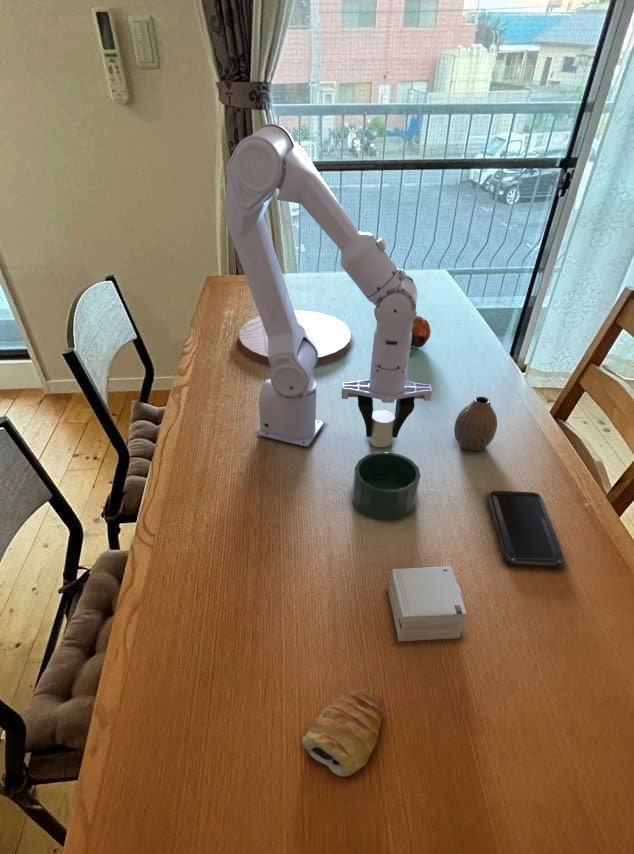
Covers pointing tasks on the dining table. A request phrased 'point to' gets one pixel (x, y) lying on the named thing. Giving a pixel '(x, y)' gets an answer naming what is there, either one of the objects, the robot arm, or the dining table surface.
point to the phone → (524, 530)
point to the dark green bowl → (385, 485)
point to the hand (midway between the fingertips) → (381, 434)
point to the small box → (426, 603)
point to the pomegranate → (420, 332)
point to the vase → (476, 425)
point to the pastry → (345, 732)
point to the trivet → (319, 328)
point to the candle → (382, 428)
